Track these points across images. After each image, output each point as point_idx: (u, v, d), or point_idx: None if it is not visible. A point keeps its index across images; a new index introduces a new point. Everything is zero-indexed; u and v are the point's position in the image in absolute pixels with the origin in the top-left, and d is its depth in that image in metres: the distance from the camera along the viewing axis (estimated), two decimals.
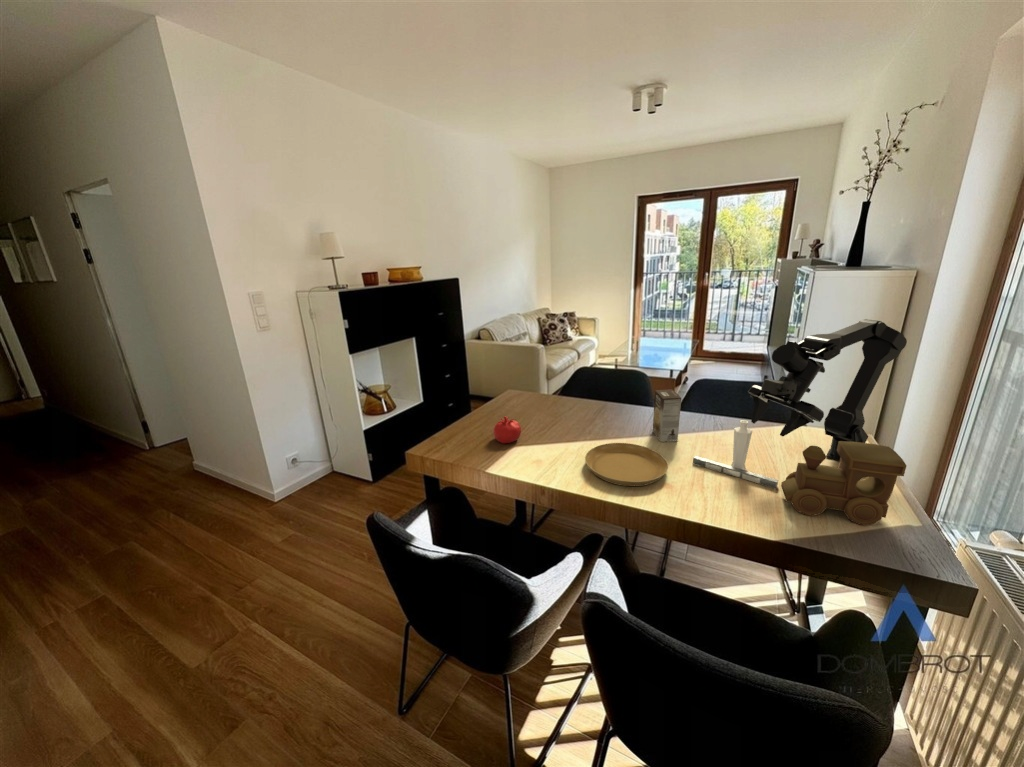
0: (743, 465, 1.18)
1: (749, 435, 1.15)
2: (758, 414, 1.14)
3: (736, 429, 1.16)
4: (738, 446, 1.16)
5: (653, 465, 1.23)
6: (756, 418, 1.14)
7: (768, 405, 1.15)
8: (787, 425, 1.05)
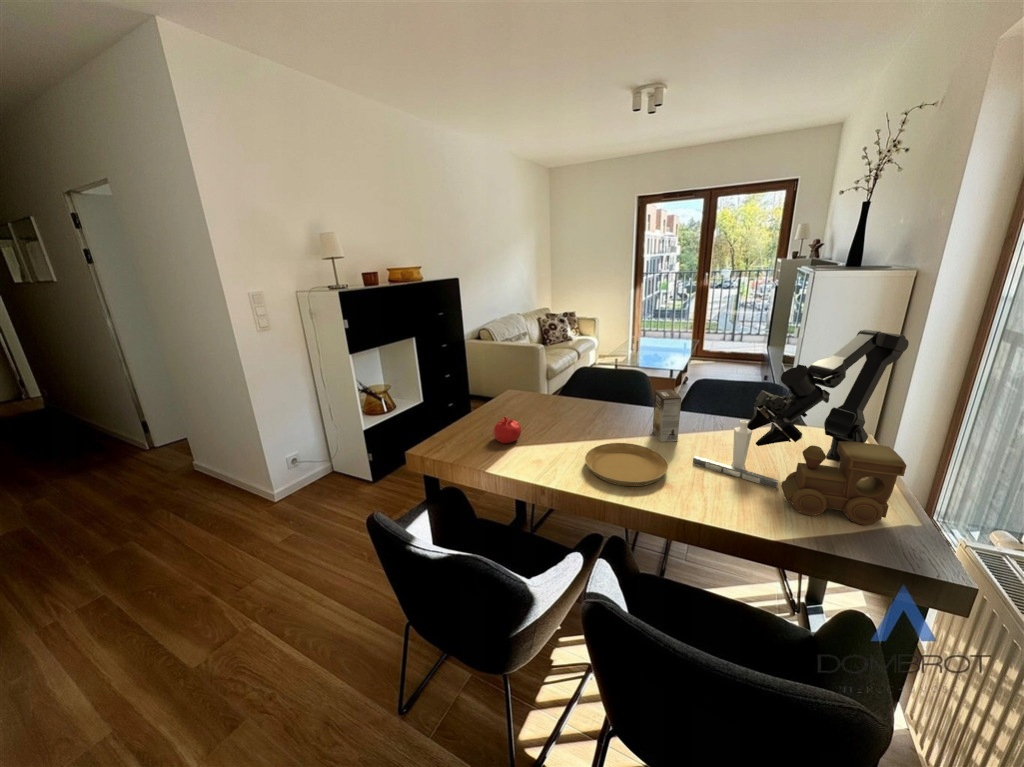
0: (743, 465, 1.18)
1: (749, 435, 1.15)
2: (753, 425, 1.19)
3: (736, 429, 1.16)
4: (738, 446, 1.16)
5: (653, 465, 1.23)
6: (749, 428, 1.20)
7: (768, 421, 1.19)
8: (764, 436, 1.10)
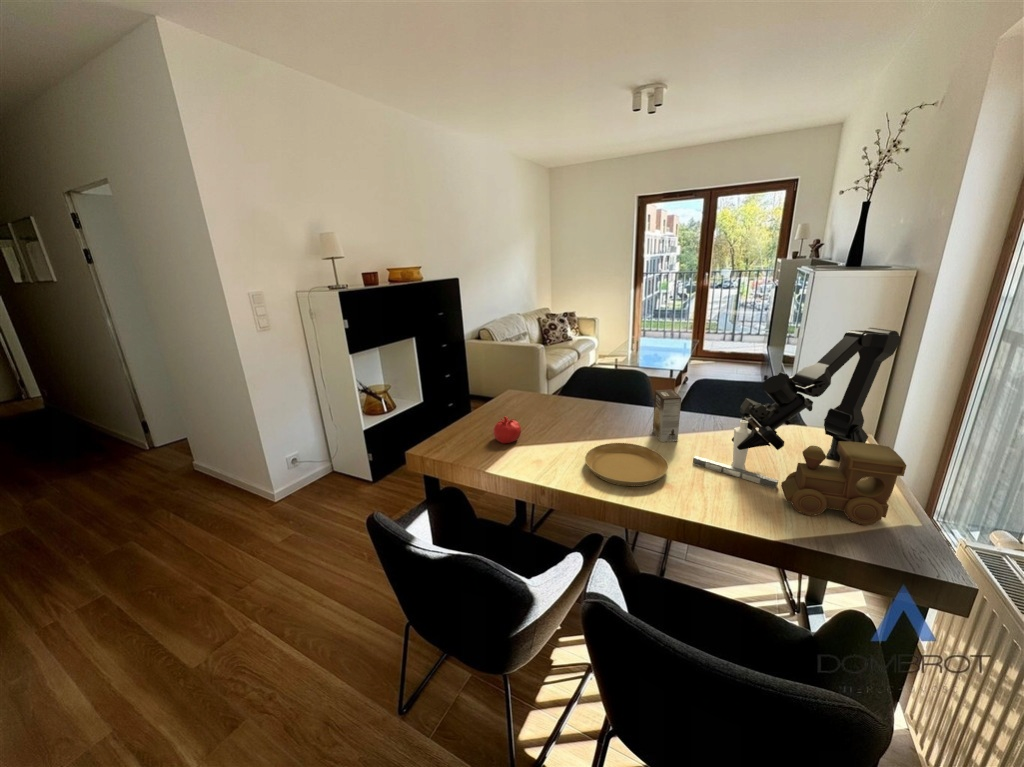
0: (743, 465, 1.18)
1: None
2: None
3: (736, 429, 1.16)
4: None
5: (653, 465, 1.23)
6: None
7: None
8: (745, 440, 1.14)
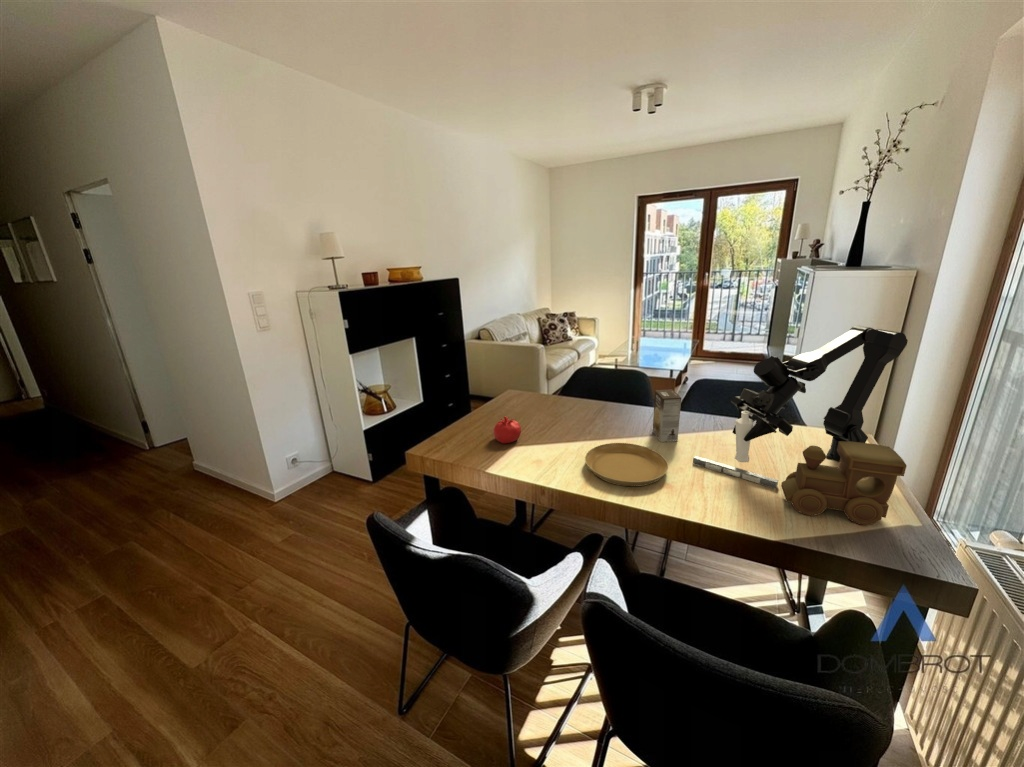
0: (748, 455, 1.17)
1: (752, 425, 1.13)
2: None
3: (739, 421, 1.14)
4: (743, 437, 1.14)
5: (653, 465, 1.23)
6: None
7: (752, 419, 1.18)
8: (751, 431, 1.12)
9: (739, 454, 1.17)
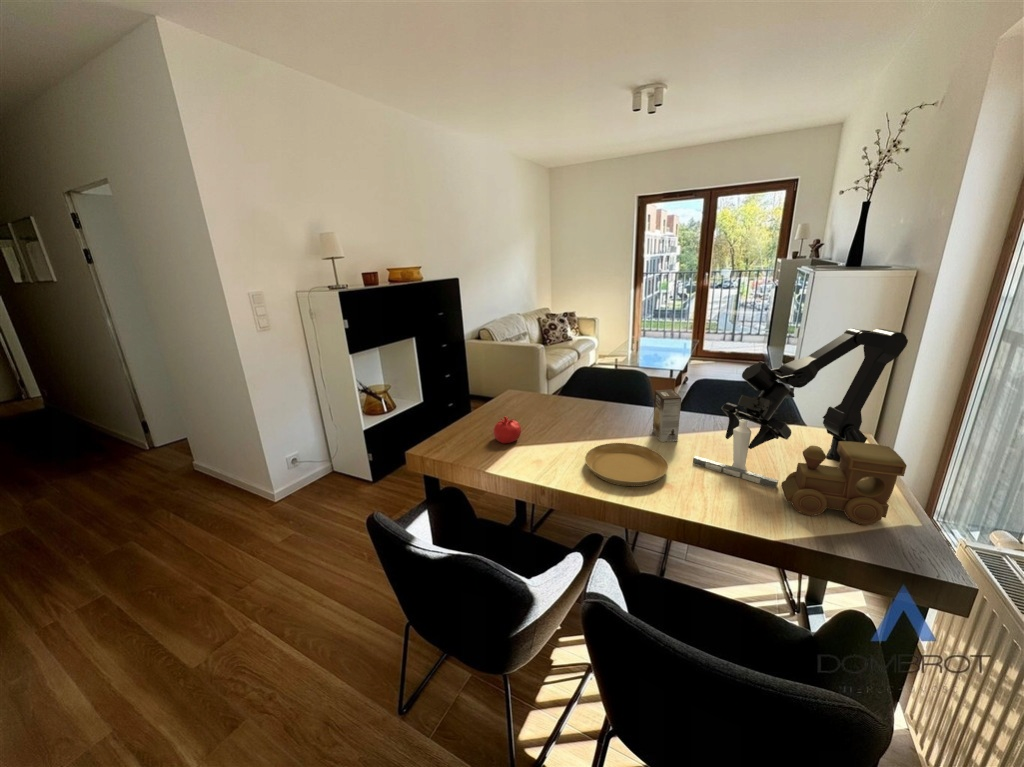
0: (745, 463, 1.19)
1: None
2: (732, 430, 1.20)
3: (738, 430, 1.15)
4: (742, 446, 1.16)
5: (653, 465, 1.23)
6: (730, 434, 1.20)
7: None
8: (756, 438, 1.12)
9: (737, 463, 1.18)
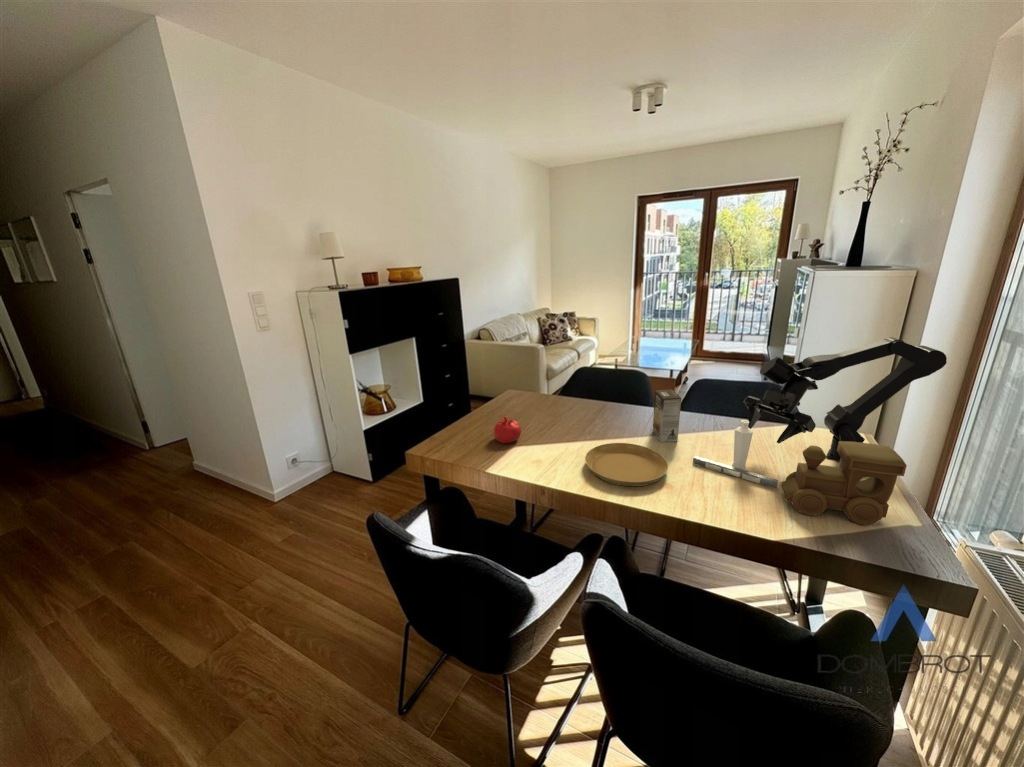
0: None
1: None
2: (752, 422, 1.23)
3: (739, 431, 1.15)
4: (743, 446, 1.16)
5: (653, 465, 1.23)
6: (750, 426, 1.23)
7: (759, 415, 1.25)
8: (784, 433, 1.15)
9: (738, 463, 1.18)
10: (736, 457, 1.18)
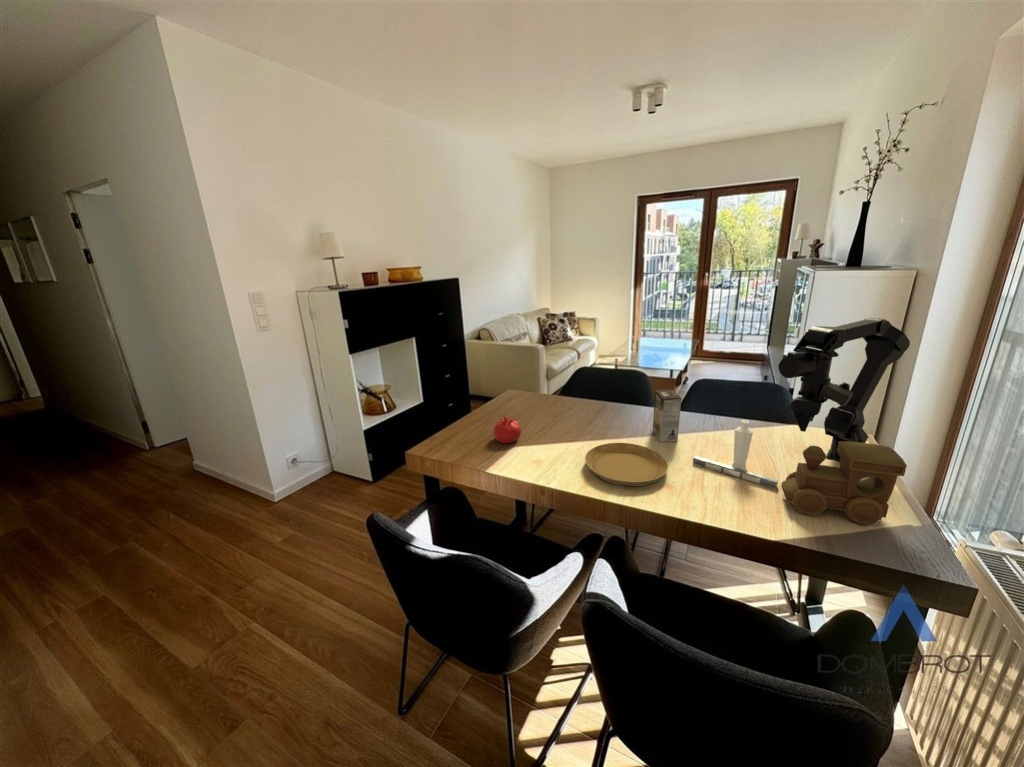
0: None
1: None
2: None
3: (739, 431, 1.15)
4: (743, 446, 1.16)
5: (653, 465, 1.23)
6: None
7: None
8: None
9: (738, 463, 1.18)
10: (736, 457, 1.18)
